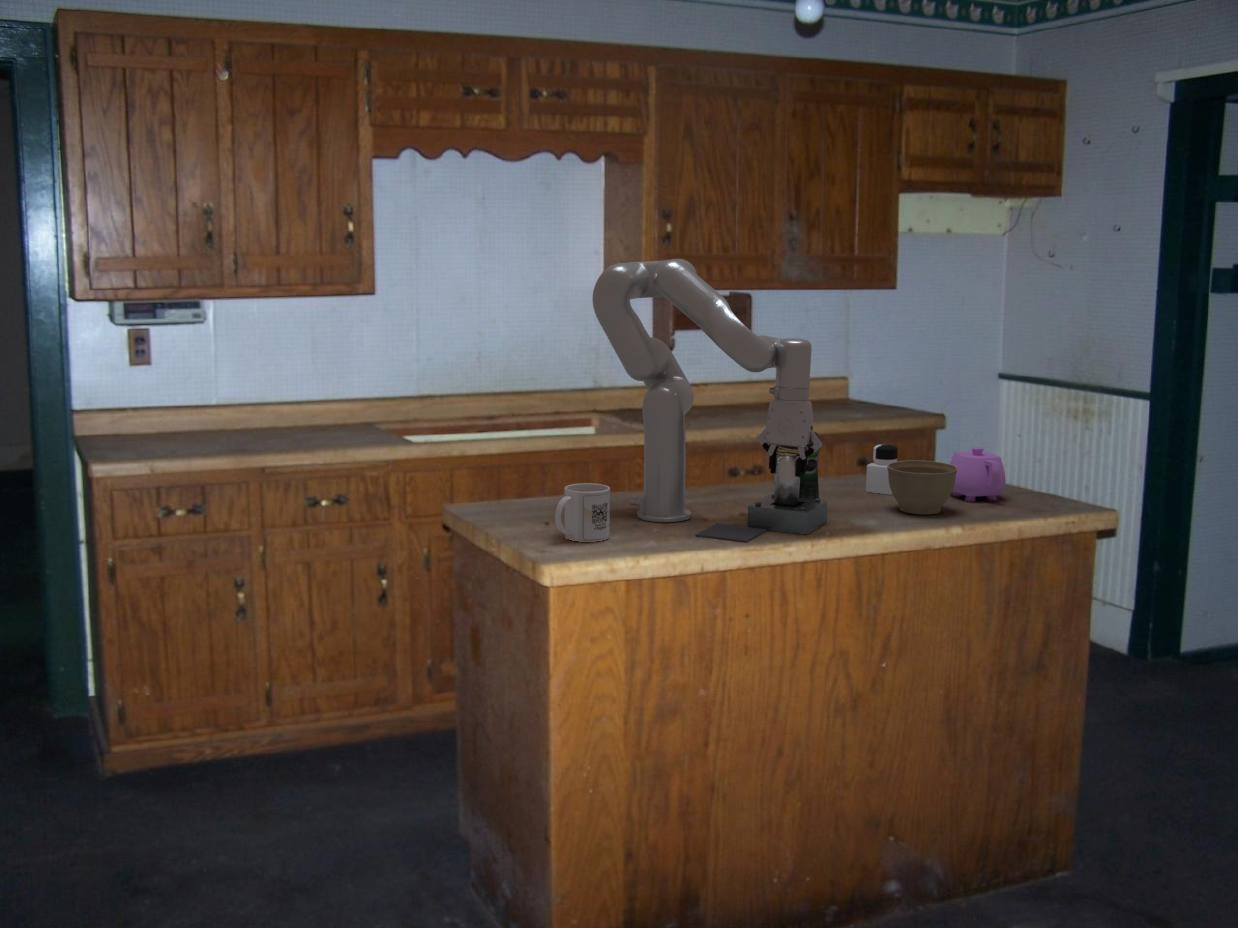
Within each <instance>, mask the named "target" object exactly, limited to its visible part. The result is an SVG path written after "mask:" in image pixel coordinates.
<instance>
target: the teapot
mask: <svg viewBox="0 0 1238 928" xmlns="http://www.w3.org/2000/svg"><path fill="white" fill-rule="evenodd" d="M950 459H951V460H950V462H949V464H950V465H953V466H955V467H957V473H956V479H955V484H954V487H953V490H952V492H953V493H952V494H951V496H952V497H963V496H965V498H964V501H965V502H976V497H986V499H987V500H988V499H989V500H988V501H998V500H997V499H998V498H997V496H1001V495H1003V493H1004V491H1005V490H1006V473H1005V469H1004V468H1005V467H1004V465H1003V464H1004V463H1003V461H1002V458H1001V456H999V455H997V454H993V453H991V452H988V451H984V448H983V447H980V446H974V447H971V451H969V450H968V451H953V455H952V457H951V458H950Z"/></svg>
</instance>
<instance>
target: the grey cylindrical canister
mask: <svg viewBox="0 0 1238 928" xmlns="http://www.w3.org/2000/svg"><path fill="white" fill-rule="evenodd" d="M798 459H800V454H799V451H797V450H780V449H778V450H777V451H776V460H775V473H774V485H773V486H774V488H773V489H774V492H773V494H774V503H777V504H782V505H795V504H798V503H799V486H800V477H798V476H797V467H798Z"/></svg>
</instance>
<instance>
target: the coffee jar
mask: <svg viewBox="0 0 1238 928" xmlns="http://www.w3.org/2000/svg"><path fill="white" fill-rule="evenodd" d="M813 432H814V433H815V434H816V436H817V437H818V438H819V440H820V441H821V438H820V435H819V433H818V432H816V431H813ZM812 446H813V442H812V443H811V444H808V445H807V448H808V449H809V448H811V447H812ZM779 450H797V451H799V450H798V447H792V446H783V445H780V446H779ZM820 451H821V447H820V448H819V449H817V450H816V451H815V452H814V453H813V454H811V455H810V456H809V457H808V458H807V470H806V473H804V475H803V476H801V477H800V486H799V498H806V499H815V498H819V499H820V489H819V487H820V486H819V464H818V463H819V455H820Z"/></svg>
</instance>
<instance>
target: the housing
mask: <svg viewBox="0 0 1238 928" xmlns="http://www.w3.org/2000/svg"><path fill="white" fill-rule="evenodd" d="M828 503H829V502H828V500H824V499H823V500H822V499H821V498H820V497H819V498H815V499H806V498H799V503H798V504H795V505H782V504H777V503H774V493H772V494H768V495H766V496H765V497H762V498H760V499H759V500H757V501H754V502H753V503H751V504H749V505H747V520H746V521H747V523H746V525H747V526H746V527H751V528H759V529H767V531H773V532H779V531H782V532H781V533H790V534H799V535H809V534H811V533H812V532H814V531H815V530H817V529H819V527H822V526H823V525H825V524H826V523H827V522H828Z"/></svg>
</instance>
